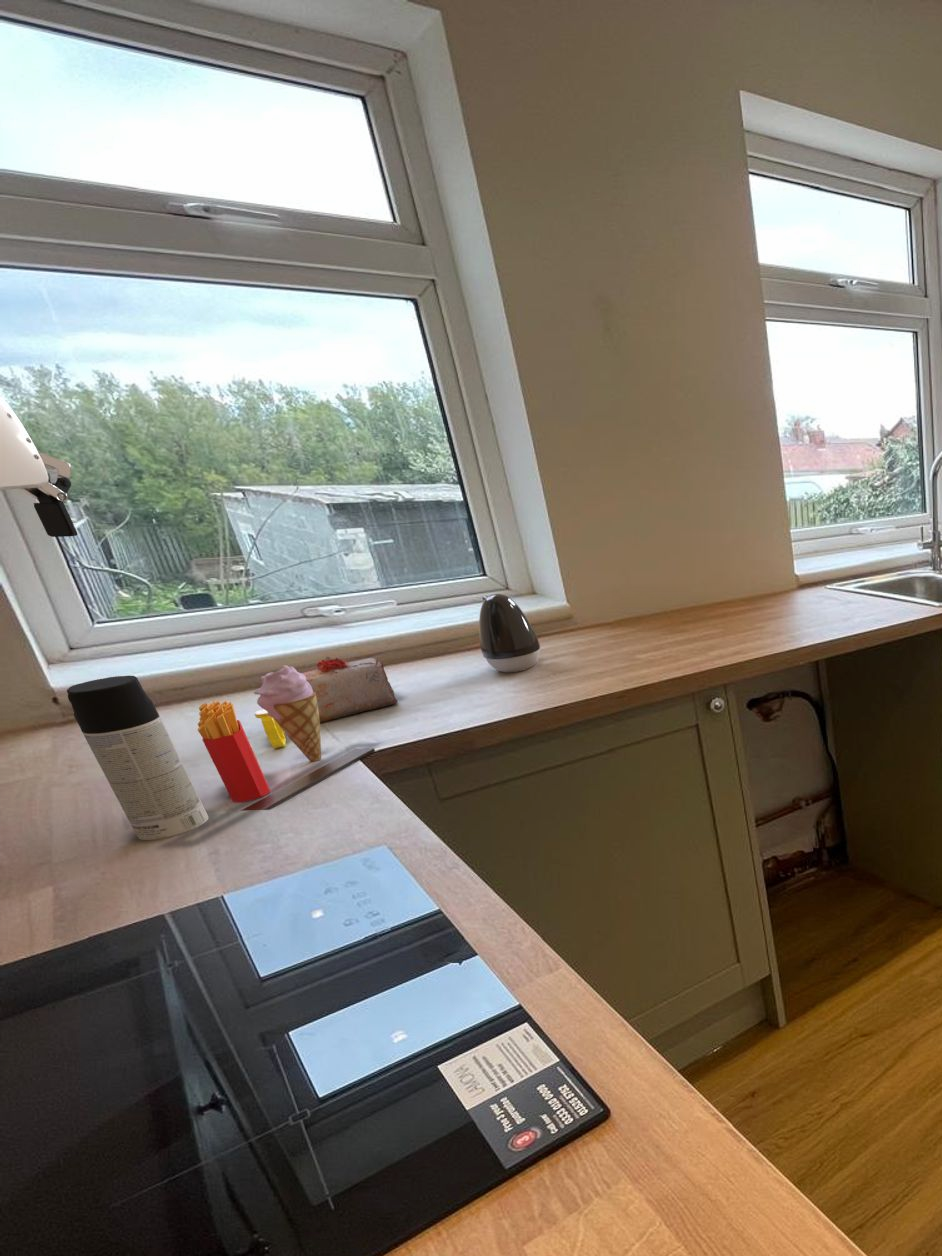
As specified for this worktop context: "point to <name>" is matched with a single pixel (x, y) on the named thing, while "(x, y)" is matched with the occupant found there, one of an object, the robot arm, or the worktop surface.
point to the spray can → (137, 756)
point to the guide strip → (309, 780)
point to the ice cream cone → (293, 708)
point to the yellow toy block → (271, 729)
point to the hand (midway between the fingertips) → (18, 542)
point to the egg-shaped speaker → (506, 635)
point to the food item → (349, 687)
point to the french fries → (231, 752)
